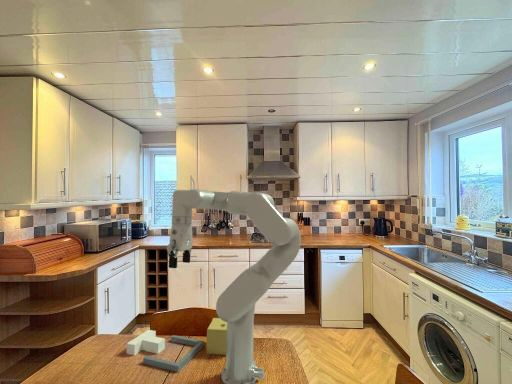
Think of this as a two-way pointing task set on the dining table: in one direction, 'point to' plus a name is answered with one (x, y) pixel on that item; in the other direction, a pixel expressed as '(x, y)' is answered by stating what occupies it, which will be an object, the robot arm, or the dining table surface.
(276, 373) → the dining table surface
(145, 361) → the frame
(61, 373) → the dining table surface
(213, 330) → the cheese
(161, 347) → the t block
